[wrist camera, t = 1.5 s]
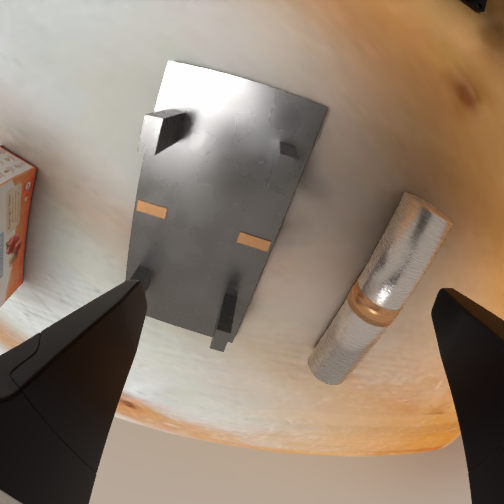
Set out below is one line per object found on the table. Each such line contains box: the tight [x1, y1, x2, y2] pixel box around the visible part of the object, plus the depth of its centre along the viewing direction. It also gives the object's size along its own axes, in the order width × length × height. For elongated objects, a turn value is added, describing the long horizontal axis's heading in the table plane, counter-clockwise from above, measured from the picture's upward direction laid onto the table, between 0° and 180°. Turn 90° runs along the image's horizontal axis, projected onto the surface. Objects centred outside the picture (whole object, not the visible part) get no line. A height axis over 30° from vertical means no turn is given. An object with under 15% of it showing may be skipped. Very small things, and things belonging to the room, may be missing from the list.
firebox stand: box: [126, 61, 328, 352], centre depth 20 cm, size 10×20×5 cm, turn 162°
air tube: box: [308, 192, 454, 385], centre depth 22 cm, size 16×4×4 cm, turn 162°
